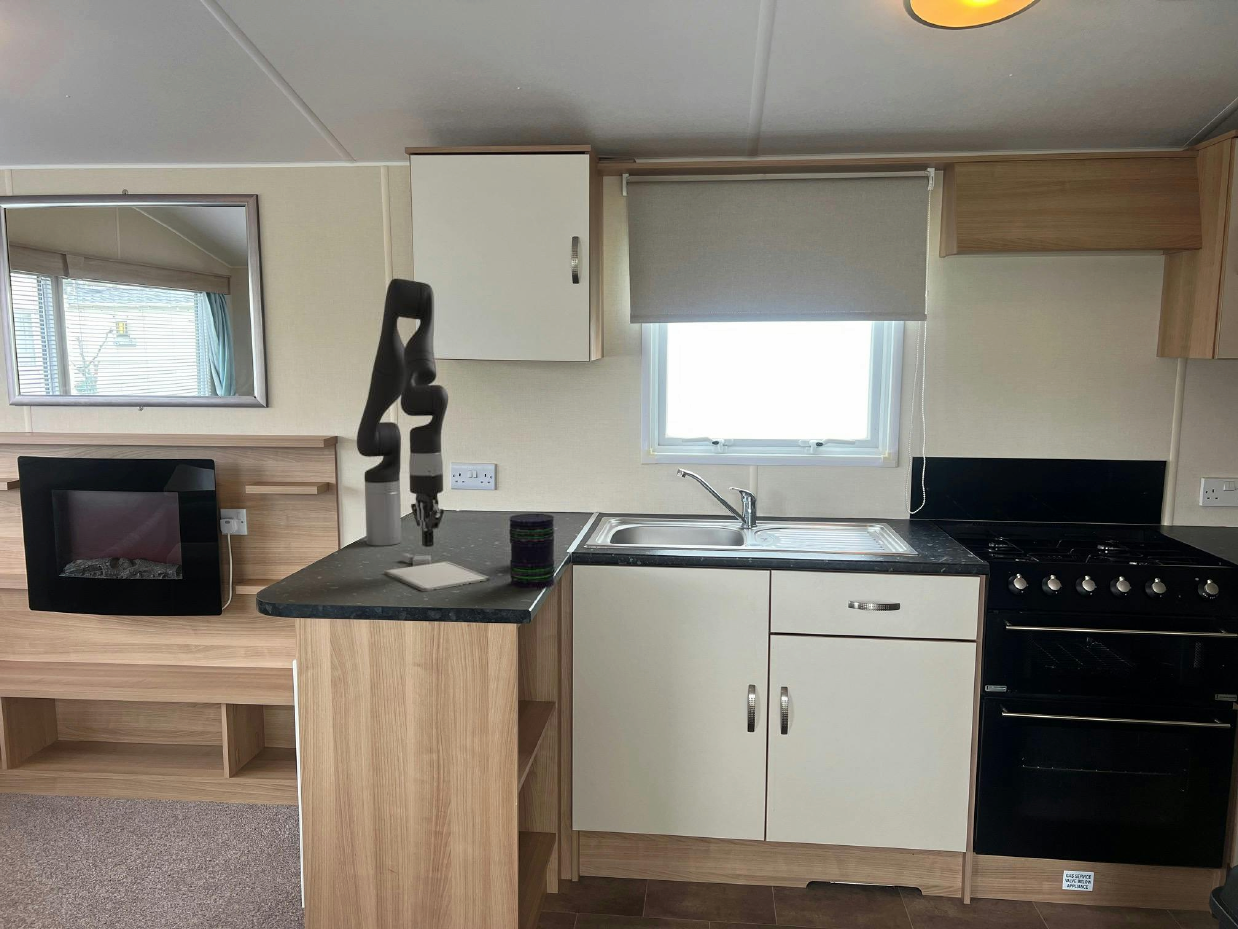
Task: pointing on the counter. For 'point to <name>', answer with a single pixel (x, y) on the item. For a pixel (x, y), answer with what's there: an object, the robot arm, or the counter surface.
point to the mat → (436, 576)
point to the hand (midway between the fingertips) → (427, 546)
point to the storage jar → (532, 551)
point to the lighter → (416, 559)
